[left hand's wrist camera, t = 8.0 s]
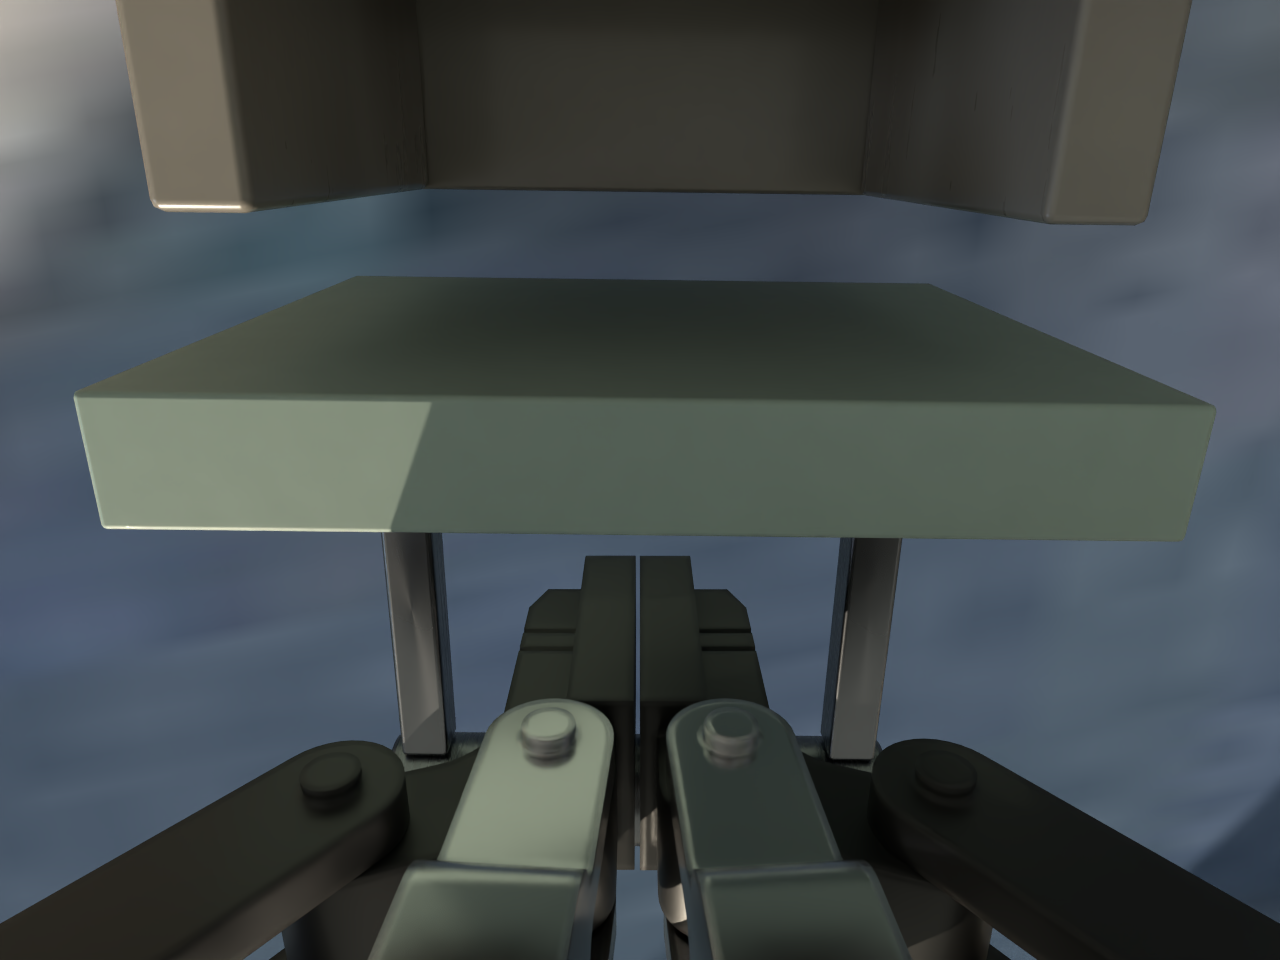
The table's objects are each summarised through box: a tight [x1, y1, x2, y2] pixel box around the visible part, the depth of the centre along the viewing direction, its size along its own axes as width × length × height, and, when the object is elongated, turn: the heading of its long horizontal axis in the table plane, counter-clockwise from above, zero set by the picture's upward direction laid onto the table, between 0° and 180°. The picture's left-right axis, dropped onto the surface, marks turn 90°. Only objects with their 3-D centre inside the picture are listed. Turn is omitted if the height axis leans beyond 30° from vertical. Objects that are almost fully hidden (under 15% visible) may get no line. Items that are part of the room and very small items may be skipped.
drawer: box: [74, 0, 1216, 846], centre depth 9 cm, size 20×9×7 cm, turn 179°
